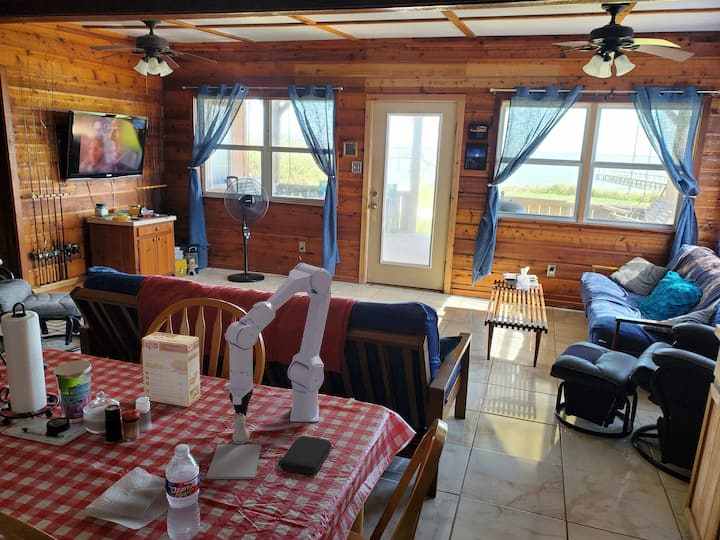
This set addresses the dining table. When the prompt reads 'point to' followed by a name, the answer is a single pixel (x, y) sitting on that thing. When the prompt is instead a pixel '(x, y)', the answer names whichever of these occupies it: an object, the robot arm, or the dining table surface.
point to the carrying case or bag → (305, 456)
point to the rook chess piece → (240, 429)
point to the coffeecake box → (171, 368)
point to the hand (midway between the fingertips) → (241, 417)
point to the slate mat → (234, 462)
